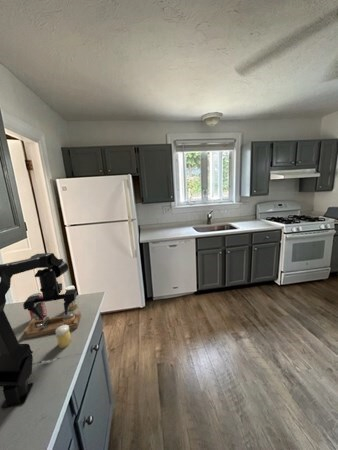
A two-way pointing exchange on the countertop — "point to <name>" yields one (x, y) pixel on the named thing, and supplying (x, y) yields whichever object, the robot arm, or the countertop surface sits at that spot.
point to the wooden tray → (54, 324)
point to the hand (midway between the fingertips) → (54, 317)
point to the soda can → (41, 307)
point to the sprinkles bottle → (74, 303)
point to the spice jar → (69, 318)
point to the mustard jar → (63, 336)
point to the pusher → (44, 324)
